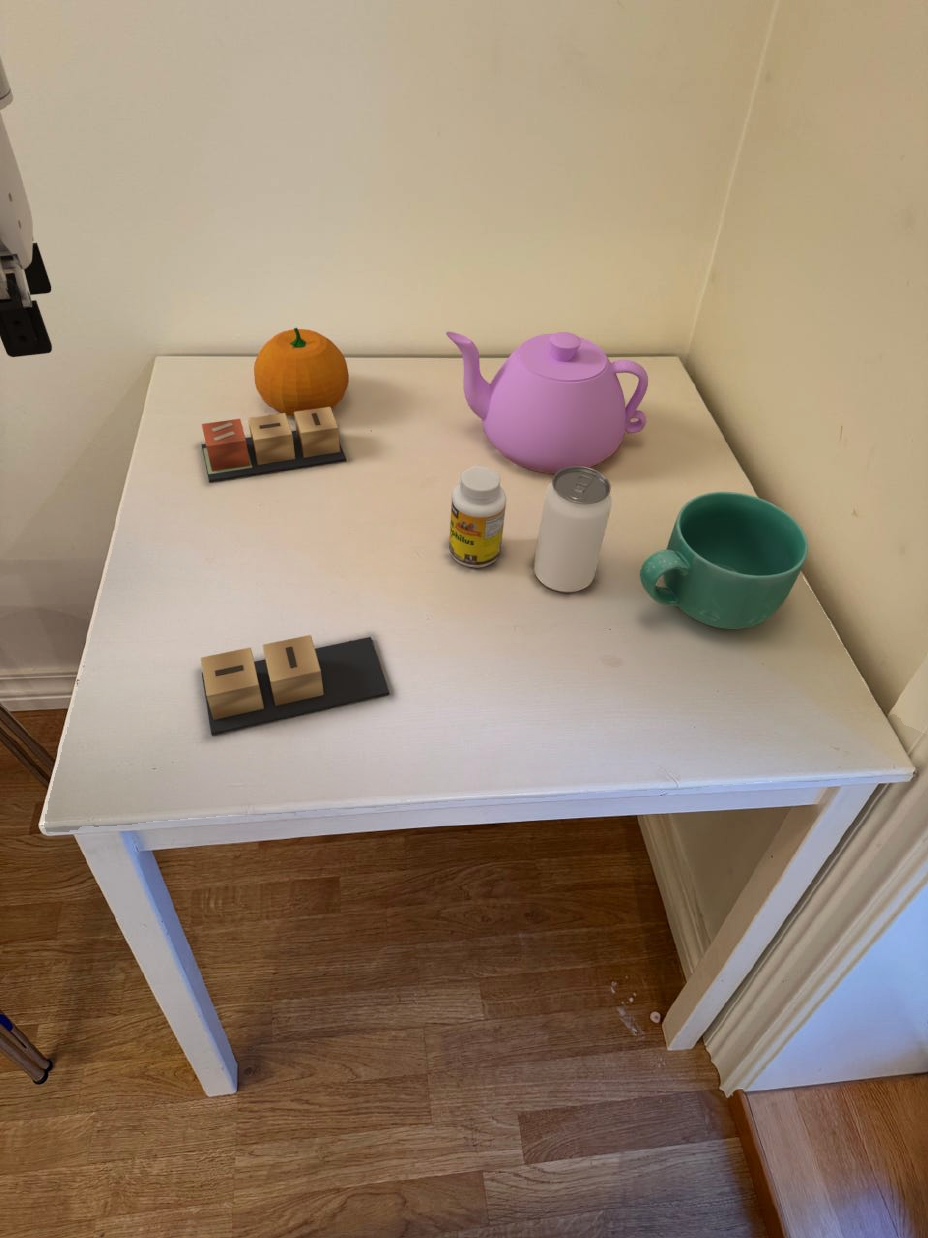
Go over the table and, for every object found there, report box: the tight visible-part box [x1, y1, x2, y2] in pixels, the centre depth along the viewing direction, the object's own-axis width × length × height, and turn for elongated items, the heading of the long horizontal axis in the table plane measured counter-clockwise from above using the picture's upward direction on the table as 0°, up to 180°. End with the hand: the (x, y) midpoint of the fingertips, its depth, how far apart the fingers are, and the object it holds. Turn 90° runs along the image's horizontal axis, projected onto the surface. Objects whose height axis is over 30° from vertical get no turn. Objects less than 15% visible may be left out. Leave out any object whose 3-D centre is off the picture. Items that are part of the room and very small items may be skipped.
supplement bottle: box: [448, 465, 507, 569], centre depth 86 cm, size 6×6×10 cm
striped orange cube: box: [201, 418, 250, 471], centre depth 96 cm, size 4×4×4 cm
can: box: [533, 466, 613, 594], centre depth 84 cm, size 6×6×12 cm
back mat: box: [201, 430, 347, 483], centre depth 99 cm, size 16×7×1 cm, turn 108°
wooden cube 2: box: [262, 634, 324, 706], centre depth 75 cm, size 4×4×4 cm
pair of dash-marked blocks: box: [247, 407, 341, 465], centre depth 98 cm, size 10×4×4 cm, turn 108°
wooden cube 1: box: [200, 647, 264, 720], centre depth 73 cm, size 4×4×4 cm
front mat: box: [201, 636, 390, 736], centre depth 76 cm, size 16×7×1 cm, turn 108°
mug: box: [639, 491, 809, 630], centre depth 83 cm, size 17×13×10 cm
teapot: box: [445, 331, 649, 475], centre depth 99 cm, size 25×18×14 cm
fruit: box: [253, 327, 350, 417], centre depth 103 cm, size 12×12×10 cm
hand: (31, 321), depth 67 cm, fingers open, 9 cm apart
